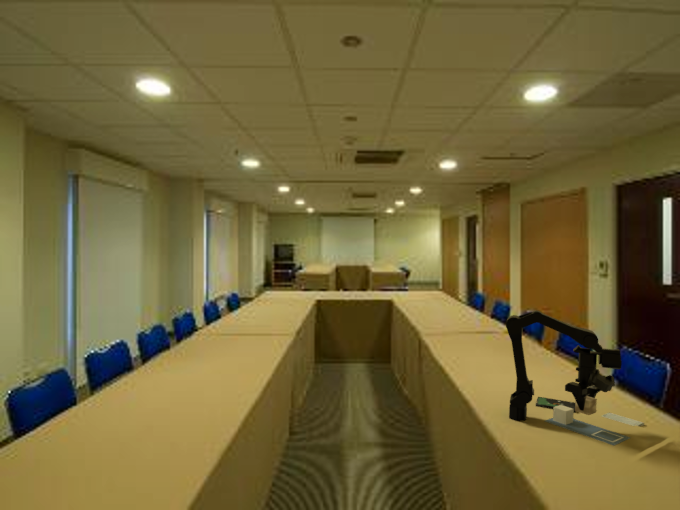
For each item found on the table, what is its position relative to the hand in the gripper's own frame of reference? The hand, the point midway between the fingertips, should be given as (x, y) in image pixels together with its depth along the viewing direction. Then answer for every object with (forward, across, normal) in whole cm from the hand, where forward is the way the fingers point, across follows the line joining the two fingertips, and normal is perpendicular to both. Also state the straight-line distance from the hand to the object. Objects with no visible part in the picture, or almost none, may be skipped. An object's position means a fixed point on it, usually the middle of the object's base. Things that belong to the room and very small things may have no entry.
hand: (585, 408), depth 171 cm
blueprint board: (+8, 0, 0) cm, 8 cm away
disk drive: (+9, +14, +19) cm, 25 cm away
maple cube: (+1, 0, 0) cm, 1 cm away
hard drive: (+9, +22, -3) cm, 24 cm away
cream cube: (+7, 0, +8) cm, 11 cm away
